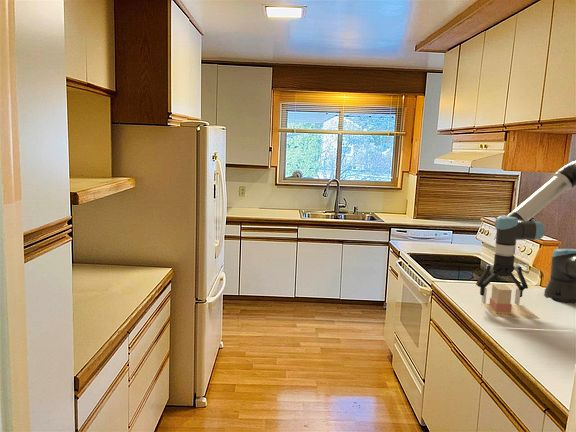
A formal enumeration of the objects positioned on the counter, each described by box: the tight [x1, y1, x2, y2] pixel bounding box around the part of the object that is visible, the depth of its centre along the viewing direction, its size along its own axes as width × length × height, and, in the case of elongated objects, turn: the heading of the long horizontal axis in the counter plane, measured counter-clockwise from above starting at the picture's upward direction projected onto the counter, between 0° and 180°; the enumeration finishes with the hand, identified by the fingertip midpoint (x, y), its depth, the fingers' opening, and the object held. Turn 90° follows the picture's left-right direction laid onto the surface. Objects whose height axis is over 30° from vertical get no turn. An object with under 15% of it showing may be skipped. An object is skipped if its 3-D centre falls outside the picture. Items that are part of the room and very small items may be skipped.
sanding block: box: [488, 284, 513, 314], centre depth 200 cm, size 6×8×10 cm
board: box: [481, 303, 541, 320], centre depth 200 cm, size 18×16×1 cm
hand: (500, 303), depth 200 cm, fingers open, 13 cm apart
